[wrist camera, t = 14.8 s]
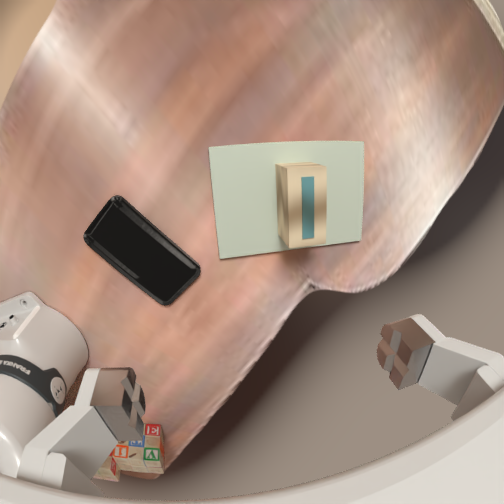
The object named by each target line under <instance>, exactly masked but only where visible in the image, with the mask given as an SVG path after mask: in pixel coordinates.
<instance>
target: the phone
mask: <svg viewBox="0 0 504 504" xmlns="http://www.w3.org/2000/svg"><path fill="white" fill-rule="evenodd" d="M84 241H85V242H86V244H87V245H88V246H90V247H91V248H92V249H93V250H94V251H95V252H97V253H98V254H99V255H100V256H101V257H102V258H104V259H105V260H106V261H107V262H108V263H109V264H111V265H112V266H113V267H114V268H115V269H117V270H118V271H119V272H120V273H122V274H123V275H124V276H125V277H126V278H128V279H129V280H130V281H131V282H133V283H134V284H135V285H137V286H138V287H139V288H140V289H142V290H143V291H144V292H145V293H147V294H148V295H149V296H151V297H152V298H153V299H155V300H156V301H157V302H159V303H160V304H162V305H169V304H171V303H172V302H173V301H174V300H175V299H176V298H177V297H178V296H179V295H180V294H181V293H182V292H183V291H184V290H185V289H186V288H187V287H188V286H189V285H190V284H191V283H192V282H193V281H194V280H195V279H196V278H197V277H198V276H199V275H200V265H199V264H198V263H197V262H196V261H195V260H194V259H193V258H191V257H190V256H189V255H188V254H187V253H186V252H184V251H183V250H182V249H181V248H180V247H179V246H177V245H176V244H175V243H174V242H173V241H172V240H170V239H169V238H168V237H167V236H166V235H165V234H164V233H162V232H161V231H160V230H159V229H158V228H157V227H156V226H154V225H153V224H152V223H151V222H150V221H149V220H148V219H146V218H145V217H144V216H143V215H142V214H141V213H140V212H139V211H137V210H136V209H135V208H134V207H133V206H132V205H131V204H130V203H129V202H127V201H126V200H125V199H124V198H123V197H121V196H118V195H117V196H113V197H112V198H111V199H110V200H109V201H108V202H107V203H106V205H105V206H104V207H103V209H102V210H101V211H100V212H99V214H98V215H97V216H96V218H95V219H94V220H93V222H92V223H91V224H90V226H89V227H88V228H87V230H86V231H85V233H84Z"/></svg>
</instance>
